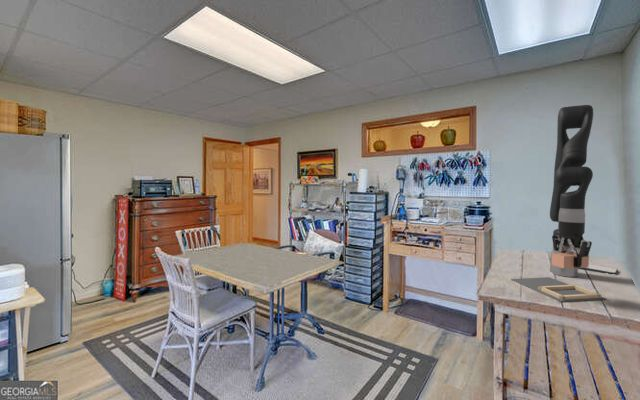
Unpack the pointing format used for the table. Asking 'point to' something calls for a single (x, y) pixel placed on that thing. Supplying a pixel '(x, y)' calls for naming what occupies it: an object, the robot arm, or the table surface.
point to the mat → (559, 289)
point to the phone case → (600, 269)
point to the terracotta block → (567, 260)
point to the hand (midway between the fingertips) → (569, 264)
